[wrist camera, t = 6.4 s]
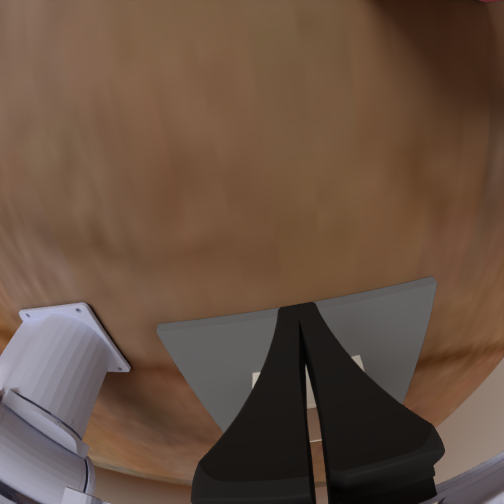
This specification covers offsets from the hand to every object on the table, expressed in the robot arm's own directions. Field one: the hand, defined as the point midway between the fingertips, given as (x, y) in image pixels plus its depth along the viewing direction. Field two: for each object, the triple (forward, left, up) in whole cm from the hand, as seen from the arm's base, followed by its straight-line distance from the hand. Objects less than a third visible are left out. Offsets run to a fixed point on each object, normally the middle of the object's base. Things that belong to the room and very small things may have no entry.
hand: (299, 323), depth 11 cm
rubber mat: (0, -14, -7) cm, 16 cm away
